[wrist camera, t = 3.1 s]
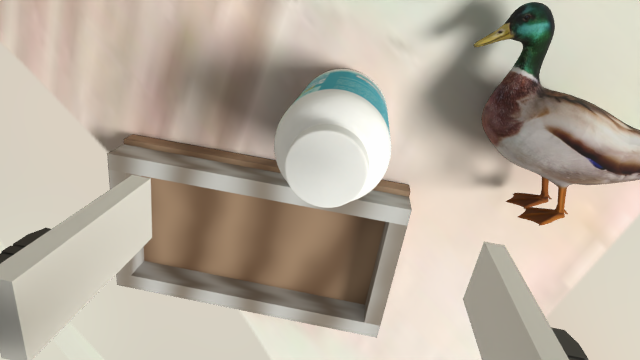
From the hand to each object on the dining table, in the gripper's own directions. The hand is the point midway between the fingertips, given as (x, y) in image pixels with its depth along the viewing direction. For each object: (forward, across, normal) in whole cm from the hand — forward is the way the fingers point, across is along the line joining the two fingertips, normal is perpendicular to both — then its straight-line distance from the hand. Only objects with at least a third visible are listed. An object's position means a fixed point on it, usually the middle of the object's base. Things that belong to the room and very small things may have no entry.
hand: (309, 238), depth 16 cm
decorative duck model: (+21, +17, +4) cm, 27 cm away
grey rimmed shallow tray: (+20, -6, -13) cm, 25 cm away
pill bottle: (+21, 0, 0) cm, 21 cm away
